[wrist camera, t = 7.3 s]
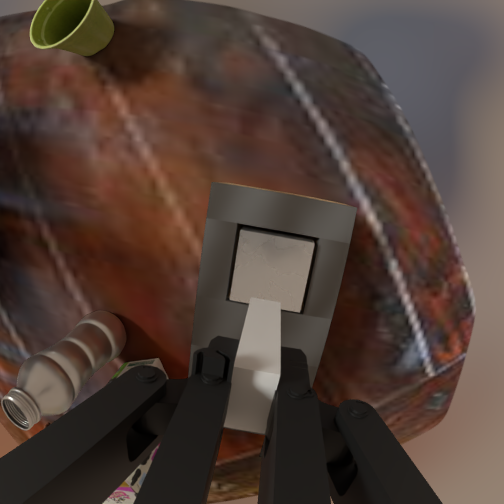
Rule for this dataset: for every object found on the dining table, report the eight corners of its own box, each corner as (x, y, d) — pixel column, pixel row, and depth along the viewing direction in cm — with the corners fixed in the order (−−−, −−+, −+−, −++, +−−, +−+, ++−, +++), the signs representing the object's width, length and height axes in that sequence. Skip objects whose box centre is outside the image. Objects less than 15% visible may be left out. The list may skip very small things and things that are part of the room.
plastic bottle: (141, 341, 39) (56, 440, 19) (105, 356, 40) (21, 444, 20) (114, 297, 38) (9, 376, 18) (81, 316, 39) (-19, 389, 19)
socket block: (201, 380, 39) (185, 419, 31) (227, 182, 34) (211, 181, 26) (293, 397, 38) (294, 438, 31) (339, 202, 33) (357, 207, 25)
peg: (240, 275, 34) (229, 299, 27) (249, 220, 33) (240, 229, 26) (296, 285, 34) (299, 312, 27) (307, 230, 33) (314, 243, 26)
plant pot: (138, 9, 30) (108, -23, 22) (108, 71, 32) (69, 50, 24) (86, 7, 30) (53, -18, 22) (58, 65, 32) (18, 48, 24)
